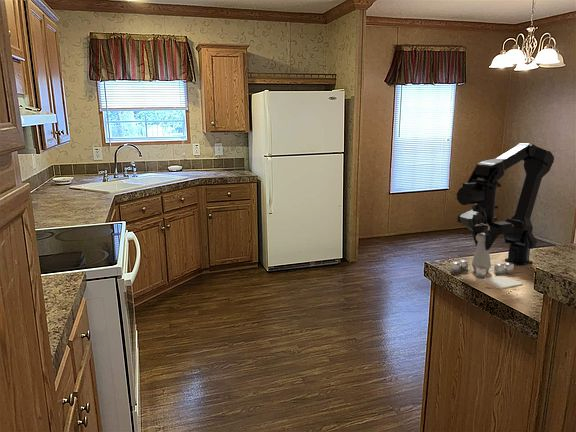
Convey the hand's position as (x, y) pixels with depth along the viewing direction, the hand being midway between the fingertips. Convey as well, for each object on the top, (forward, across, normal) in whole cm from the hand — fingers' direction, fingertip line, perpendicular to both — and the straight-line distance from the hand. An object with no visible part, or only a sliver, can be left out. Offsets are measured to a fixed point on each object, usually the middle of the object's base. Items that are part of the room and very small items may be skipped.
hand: (482, 248), depth 149 cm
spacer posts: (+8, 0, 0) cm, 8 cm away
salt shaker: (+8, 0, 0) cm, 8 cm away
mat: (+8, +10, -2) cm, 13 cm away
